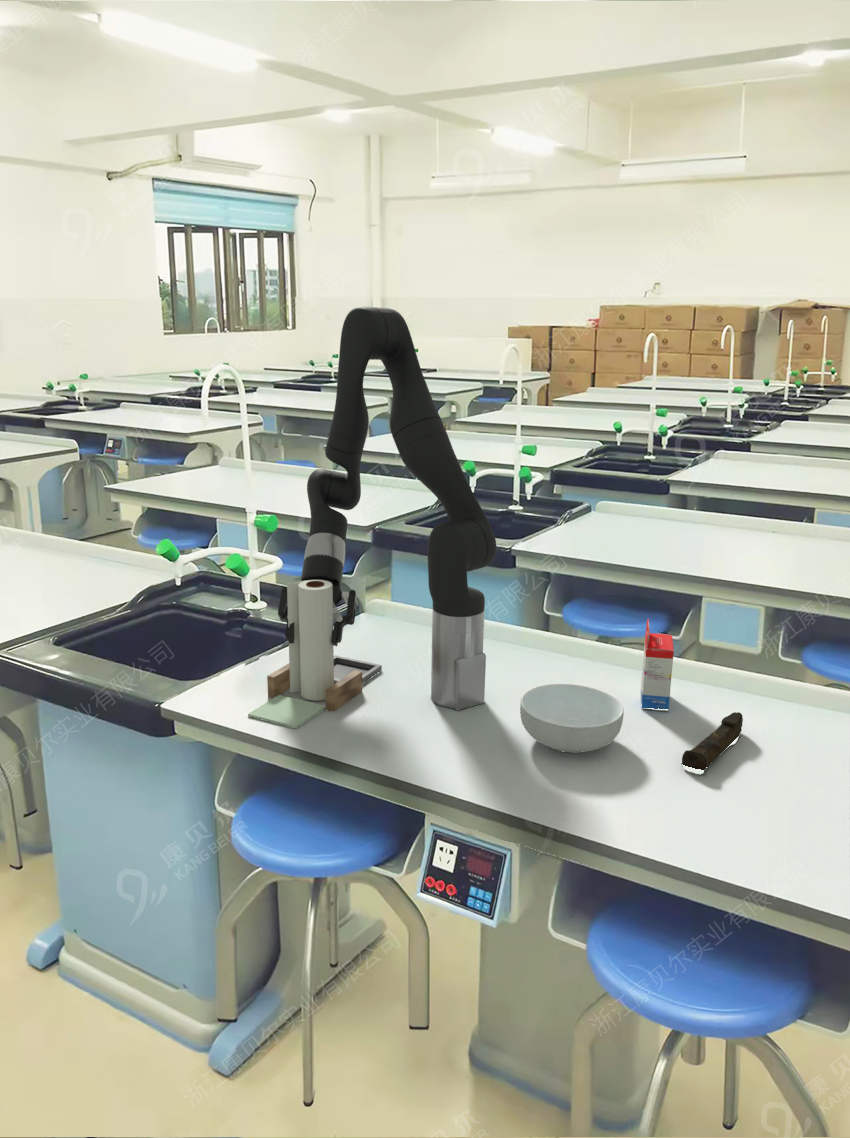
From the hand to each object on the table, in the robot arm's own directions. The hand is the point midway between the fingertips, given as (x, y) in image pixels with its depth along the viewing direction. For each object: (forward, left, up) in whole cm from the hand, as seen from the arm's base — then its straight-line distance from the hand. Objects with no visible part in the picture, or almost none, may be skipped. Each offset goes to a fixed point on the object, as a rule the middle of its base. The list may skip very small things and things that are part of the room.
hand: (312, 642), depth 165 cm
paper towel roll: (+1, -1, -11) cm, 11 cm away
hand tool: (-53, -46, -11) cm, 71 cm away
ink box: (-34, -52, -11) cm, 63 cm away
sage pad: (-3, +7, -11) cm, 13 cm away
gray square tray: (+6, -10, -11) cm, 15 cm away
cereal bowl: (-38, -28, -11) cm, 48 cm away
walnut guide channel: (+1, -1, -11) cm, 11 cm away
